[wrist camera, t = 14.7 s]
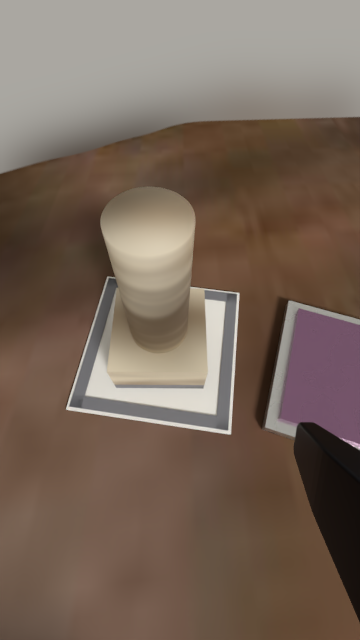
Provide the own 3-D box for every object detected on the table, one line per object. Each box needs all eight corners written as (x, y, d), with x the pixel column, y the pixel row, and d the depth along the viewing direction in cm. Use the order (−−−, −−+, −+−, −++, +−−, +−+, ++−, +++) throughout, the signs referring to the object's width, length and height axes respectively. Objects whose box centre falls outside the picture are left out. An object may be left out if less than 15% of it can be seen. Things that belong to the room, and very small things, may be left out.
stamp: (203, 388, 21) (233, 284, 10) (116, 387, 21) (53, 282, 10) (200, 313, 24) (222, 168, 13) (124, 312, 24) (81, 166, 13)
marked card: (230, 434, 20) (231, 433, 20) (66, 409, 21) (65, 408, 21) (238, 294, 25) (239, 292, 25) (107, 277, 26) (107, 275, 26)
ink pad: (422, 482, 19) (437, 482, 18) (261, 429, 20) (266, 426, 19) (416, 341, 24) (428, 334, 22) (285, 305, 25) (290, 297, 24)
